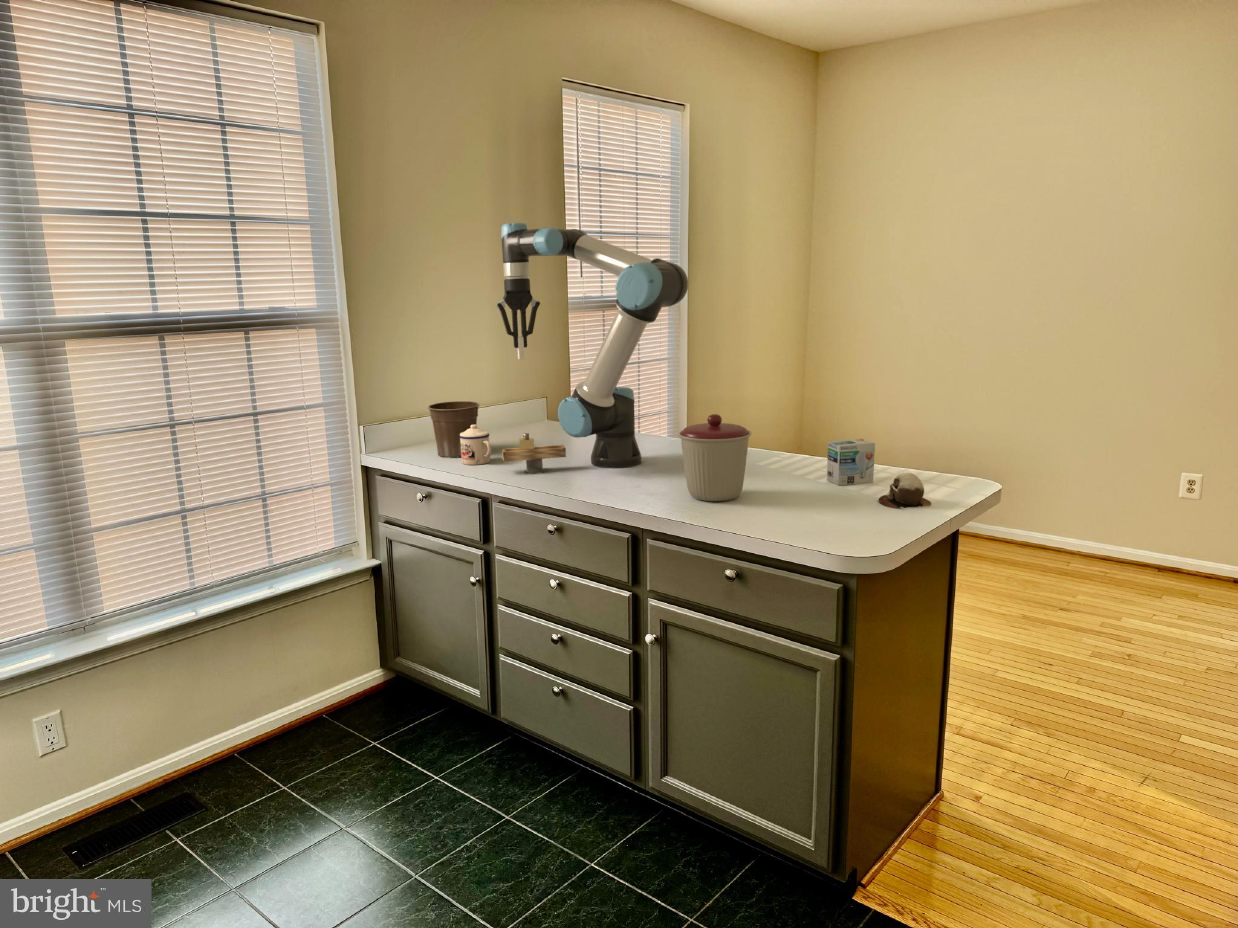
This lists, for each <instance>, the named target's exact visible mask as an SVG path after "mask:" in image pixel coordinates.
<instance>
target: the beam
mask: <svg viewBox="0 0 1238 928" xmlns="http://www.w3.org/2000/svg"><path fill="white" fill-rule="evenodd" d="M566 451H567V448H566V446H564V444H558V445H557V444H554V445H542V446H534V450H521V451H520V450H519V447H513V448H512V447H510V448H502V449H501V458H502V460H503V462H515V461H525V463H526V470H527V472H528V474H531V473H532V474H541V473H542V474H543V473H544V465H543V459H544V460H545V459H557V458H558V459H559V458H566V457H567V452H566Z"/></svg>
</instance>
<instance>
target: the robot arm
mask: <svg viewBox="0 0 1238 928" xmlns="http://www.w3.org/2000/svg"><path fill="white" fill-rule="evenodd" d="M500 235H501V238H500V241H501V251H502V264H503V265H502V267H503V277H504V278H505V279H504V280H503V285H504V296H503V297H502V299H501V300H500V301H499V302H496V304H495V305H496V307H497V309H498V310H499V312H500V315H501V318H502V321H503V325H504V328H505V331H506V334H507V335H508V336H510V337H511V336H512V337H513V347H514V349H517V359H518V360H525V348H527V347H528V336H529V335H533V333H534V328H535V322H536V317H537V311H538V308H539V306H541V302H540V301H538V300H536V299H534V298H533V295H532V293H531V280H530V278H529V277H530V263H529V262H530V259H529V257H550V256H552V257H556V256H557V257H558V256H559V257H570V258H572V259H575V260H577V261H580V262H582V263H585V264H587V265H590V266H592V267H595V268H597V269H599V270H602V271H605V272H607V273H609V274H612V275H615V276H617V279H616V281H615V282H616V283H615V291H616V293H615V296H616V300H615V305H616V308H617V312H616V314H615V315H614V318H613V320H612V322H611V325H610V327H609V329H608V330H607V333H606V335H605V337H604V339H603V342H602V344H601V345H600V348H599V350H598V352H597V354H596V356H595V359H594V361H593V363H592V365H591V367H590V369H589V370H588V374H587V376H586V377H585V380H583V381H580V382H578V383H577V384H576V386H575V388H574V390H573V393H572V394H571V396H568V397H565V398H564V399H562V401H560V403H559V406H558V409H557V418H558V420H559V425H560V426H561V428H562V430H563V431H564V433H566V434H567V435H568V436H570V437H573V438H576V439H577V438H586V437H587V438H588V437H590V436H593V435H595V441H594V444H593V448H592V450H591V455H590V464H591V465H592V466H595V467H598V468H609V469H611V468H627V467H628V468H629V467H632V466H637V465H640V464H641V463H642V453H641V451H640V448H639V445H638V442H637V439H636V430H635V429H636V428H635V427H636V426H635V421H636V420H635V396H634V390H633V389H632V388H631V387H625V386H618V384H619V381H620V380H621V378H622V375H623V374H624V371H625V369H626V367H627V365H628V364H629V361H630V359H631V357H632V355H633V353H634V351H635V349H636V347H637V346H638V343H639V341H640V339H641V337H642V335H643V333H644V332H645V329H646V327H647V325H648V324H653V323H654V322H655V321H656V320H657V318H658V316H659V313H660V311H661V309H662V308H667V307H672V306H675V305H676V304H679V303H680V302H681V301H682V300H683V299H684V298H685V296H686V295H687V293H688V290H689V278H688V276H687V273H686V271H685V270H684V269H683V267H681V266H680V265H678V264H676V263H674V262H671V261H667V260H664V259H661V258H660V257H659V258H657V257H656V258H653V259H650V258H648V257H645V256H643V255H640V254H638V253H634V252H633V251H629V250H628V249H624V248H622V247H619V246H616V245H615V244H614V245H613V244H612V243H608V242H605V241H603V240H601V239H597V238H595V237H592V236H589V235H588V234H587V232H586V231H584V230H581V229H576V228H571V229H569V228H568V229H567V228H566V229H564V228H563V229H562V228H555V227H542V228H541V227H540V228H533V229H532V228H531V229H528V225H527V223H525V222H510V223H504V224H502V225H501V234H500ZM530 303H531V304H530ZM506 305H507V306H508V308H509V309H510V310H511V321H512V322H511V323H512V327H511V325H510V321H509V318H508V313H507V311H506V309H505V308H506ZM529 305H531V310H530V315H529V322H528V325H527V308H528V307H529ZM518 311H519V315H520V326H521V327H520V328H521V329H520V331H521V332H520V333H521V336H519V327H518V326H519V324H518V321H519V320H518ZM527 326H528V328H527ZM511 328H512V329H511Z"/></svg>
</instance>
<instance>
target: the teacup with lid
mask: <svg viewBox="0 0 1238 928" xmlns="http://www.w3.org/2000/svg"><path fill="white" fill-rule="evenodd" d="M459 437H460V442H461V456H460V458H461V463H462V464H463V465H464V466H465V465H466V466H480V465H485V464H486V465H487V464H489V463H490V462H491V455H492V444H491V442H490V432H488V430H483V429H481V428H479V427H478V425H471V428H470V429H467V430H466V431H465V432H462V433H460V436H459Z"/></svg>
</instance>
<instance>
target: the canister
mask: <svg viewBox="0 0 1238 928" xmlns="http://www.w3.org/2000/svg"><path fill="white" fill-rule="evenodd" d="M706 420H707V422H705V423H697V424H691V425H689V426H686V427H684V428H683V429H682V430H680V431H679V432H678V434H677V436H678V437H679V438H680V441H681V443H680V444H681V451H682V458H683V466H684V467H683V468H684V475H685V481H686V486H687V487H686V488H687V490H688V493H689V494H690V496H691V497H692V498H694V499H696V500H699V501H703V502H704V501H705V502H724V501H725V502H726V501H730V500H734V499H736V498H738V497H739V496H740V494H741V492H743V491H742V490H743V487H744V486H743V485H744V482H745V481H744V480H745V472H746V467H747V466H746V465H747V457H748V447H749V438H750V437H751V436H752V432H751V430H749V429H747V428H746V427H744V426H742V425H739V424H734V423H728V422H726V423H725V422H722V421H723V419H722V416H721V415H720V414H717V413H712V414H709V415H708V417H707V418H706Z"/></svg>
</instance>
